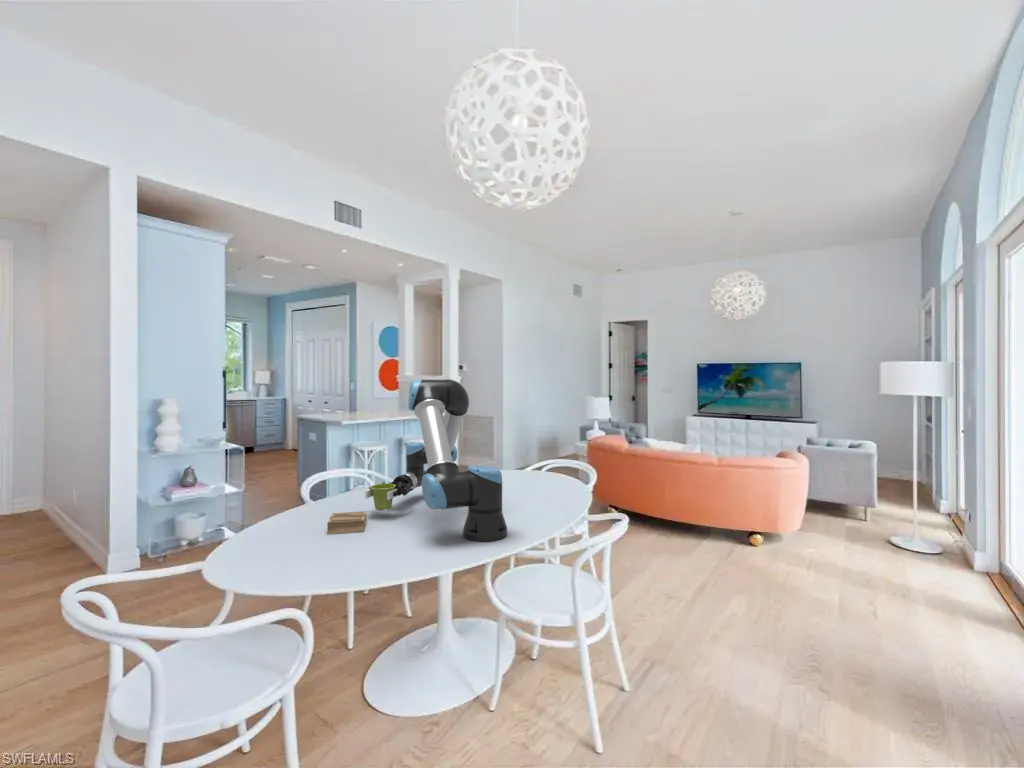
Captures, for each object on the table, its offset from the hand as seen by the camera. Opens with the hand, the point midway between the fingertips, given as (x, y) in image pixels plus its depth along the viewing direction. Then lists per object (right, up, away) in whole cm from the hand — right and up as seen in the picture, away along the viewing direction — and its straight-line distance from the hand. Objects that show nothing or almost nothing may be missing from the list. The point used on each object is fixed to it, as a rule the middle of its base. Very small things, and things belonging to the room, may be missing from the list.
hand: (376, 495), depth 189 cm
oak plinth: (-8, -10, -9) cm, 15 cm away
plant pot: (+1, -6, +5) cm, 8 cm away
